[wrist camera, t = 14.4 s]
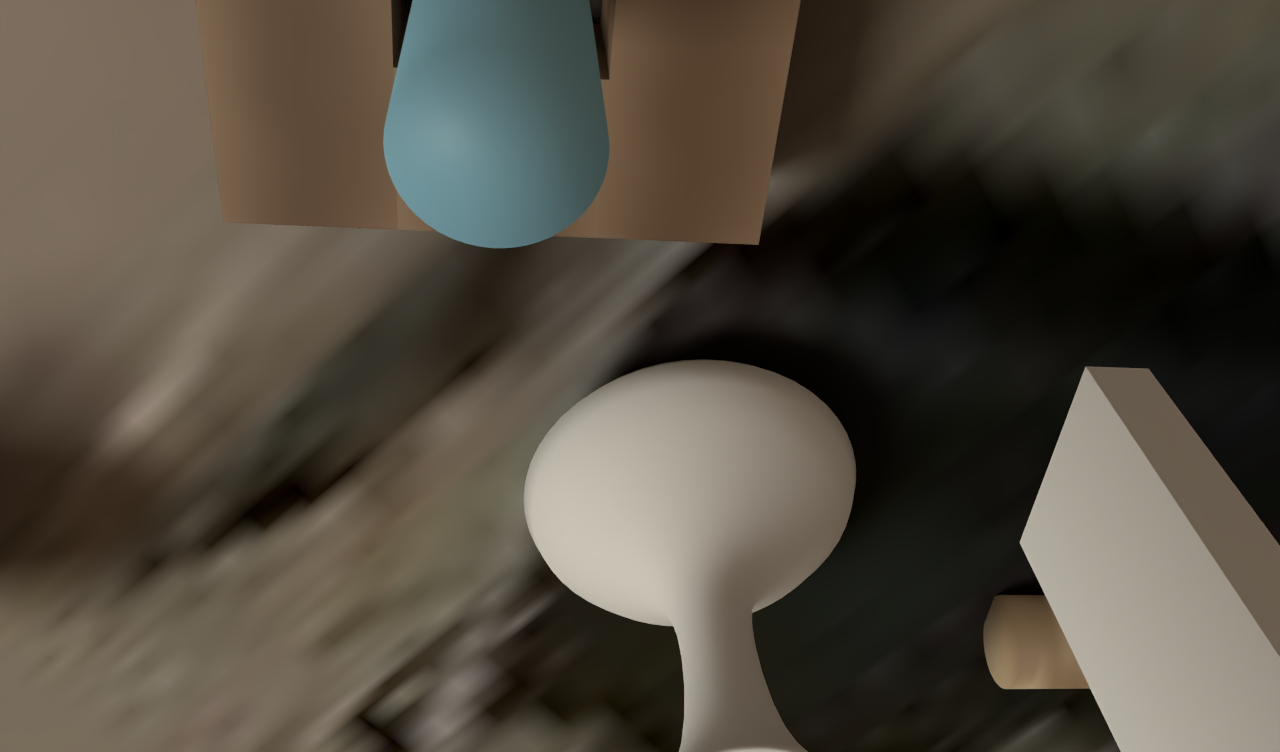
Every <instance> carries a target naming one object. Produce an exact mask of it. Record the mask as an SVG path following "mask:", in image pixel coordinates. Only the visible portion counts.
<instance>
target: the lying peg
mask: <svg viewBox="0 0 1280 752" xmlns="http://www.w3.org/2000/svg"><path fill="white" fill-rule="evenodd" d="M984 649H985V655H986V660H987V664H988V667H989V670H990V673H991V675H992V677H993V679H994V680H995V682H996V683H997V684H998V685H999V686H1000V687H1001V688H1004V689H1075V688H1090V687H1089V685H1088V683H1087V681H1086V678H1085V676H1084V674H1083V672H1082V670H1081V668H1080V666H1079V664H1078V662H1077V660H1076V658H1075V656H1074V654H1073V652H1072V650H1071V647H1070V645H1069V643H1068V641H1067V639H1066V637H1065V635H1064V633H1063V631H1062V629H1061V627H1060V625H1059V623H1058V621H1057V619H1056V616H1055V614H1054V612H1053V610H1052V608H1051V606H1050V604H1049V602H1048V600H1047V598H1046V596H1045V595H997V596H995V597H994V599H993V602H992V605H991V607H990V610H989V613H988V615H987V618H986V621H985V623H984Z"/></svg>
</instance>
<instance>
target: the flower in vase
mask: <svg viewBox="0 0 1280 752" xmlns="http://www.w3.org/2000/svg"><path fill="white" fill-rule="evenodd" d="M855 485H856V463H855V458H854V453H853V448H852V445H851V443H850V440H849V438H848V435H847V433H846V431H845V429H844V428H843V426H842V424H841V423H840V421H839V419H838V418H837V417H836V415H835V414H834V413H833V412H832V411H831V410H830V408H829V407H828V406H827V405H826V404H825V403H824V402H823V401H822V400H820V399H819V398H818V397H817V396H816V395H814V394H813V393H812V392H811V391H809V390H808V389H806V388H804V387H803V386H801V385H800V384H798V383H796V382H795V381H793V380H790V379H788V378H786V377H784V376H782V375H779V374H777V373H775V372H772V371H768V370H765V369H762V368H759V367H755V366H752V365H748V364H742V363H736V362H731V361H722V360H707V359H703V360H682V361H675V362H668V363H662V364H658V365H654V366H650V367H646V368H643V369H640V370H637V371H634V372H632V373H629V374H626V375H624V376H621V377H619V378H617V379H615V380H613V381H611V382H609V383H607V384H605V385H603V386H602V387H600V388H599V389H597V390H596V391H594V392H592V393H591V394H589V395H588V396H586V397H585V398H583V399H582V400H581V401H579V402H578V403H577V404H575V405H574V406H573V407H572V408H571V409H570V410H568V411H567V412H566V413H565V414H564V415H563V416H562V417H561V418H560V419H559V420H558V421H557V422H556V423H555V425H554V426H553V427H552V428H551V429H550V430H549V431H548V433H547V434H546V436H545V437H544V439H543V440H542V442H541V443H540V445H539V446H538V448H537V450H536V452H535V455H534V457H533V459H532V461H531V463H530V466H529V470H528V473H527V477H526V481H525V490H524V509H525V516H526V520H527V525H528V529H529V531H530V533H531V536H532V538H533V540H534V543H535V545H536V546H537V548H538V550H539V551H540V553H541V555H542V556H543V558H544V559H545V561H546V562H547V564H548V565H549V567H550V569H551V570H552V571H553V572H554V574H555V575H556V576H557V577H558V578H559V579H560V580H561V581H562V582H563V583H564V584H565V585H566V586H567V587H569V588H570V589H571V590H572V591H573V592H574V593H576V594H577V595H579V596H581V597H582V598H584V599H585V600H587V601H589V602H590V603H592V604H594V605H597V606H599V607H601V608H603V609H605V610H607V611H610V612H613V613H615V614H618V615H621V616H624V617H627V618H629V619H632V620H636V621H640V622H644V623H649V624H656V625H663V626H674V629H675V631H676V634H677V637H678V642H679V647H680V652H681V657H682V666H683V677H684V724H683V733H682V742H681V746H680V749H679V752H808V751H806V750H805V749H804V748H803V747H802V746H801V745H799V744H798V743H797V742H796V741H795V739H794V738H793V737H792V735H791V734H790V732H789V731H788V730H787V728H786V727H785V726H784V724H783V722H782V720H781V718H780V716H779V714H778V712H777V710H776V708H775V706H774V704H773V701H772V699H771V696H770V693H769V690H768V688H767V685H766V682H765V679H764V677H763V674H762V670H761V666H760V662H759V659H758V655H757V651H756V647H755V641H754V634H753V628H752V613H753V612H755V611H757V610H760V609H762V608H764V607H766V606H768V605H770V604H772V603H773V602H775V601H777V600H779V599H781V598H782V597H783V596H785V595H786V594H788V593H789V592H790V591H792V590H793V589H794V588H796V587H797V586H798V585H799V584H800V583H802V582H803V581H804V580H805V579H806V578H807V577H808V576H810V575H811V574H812V573H813V572H814V571H815V570H816V569H817V568H818V567H819V566H820V565H821V564H822V563H823V562H824V561H825V559H826V558H827V557H828V556H829V555H830V553H831V552H832V550H833V549H834V547H835V546H836V545H837V543H838V542H839V540H840V538H841V536H842V534H843V532H844V530H845V528H846V525H847V522H848V518H849V515H850V512H851V507H852V502H853V497H854V491H855Z"/></svg>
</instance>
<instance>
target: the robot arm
mask: <svg viewBox="0 0 1280 752" xmlns="http://www.w3.org/2000/svg"><path fill="white" fill-rule="evenodd" d="M1020 544H1021V546H1022V548H1023V550H1024V552H1025V554H1026V557H1027V559H1028V561H1029V563H1030V565H1031V567H1032V569H1033V571H1034V573H1035V575H1036V577H1037V579H1038V581H1039V583H1040V585H1041V588H1042V590H1043V592H1044V594H1045V596H1046V598H1047V600H1048V602H1049V604H1050V606H1051V608H1052V610H1053V612H1054V614H1055V616H1056V619H1057V621H1058V623H1059V625H1060V627H1061V629H1062V631H1063V633H1064V635H1065V637H1066V639H1067V641H1068V643H1069V645H1070V647H1071V650H1072V652H1073V654H1074V656H1075V658H1076V660H1077V662H1078V664H1079V666H1080V668H1081V670H1082V672H1083V674H1084V676H1085V678H1086V681H1087V683H1088V685H1089V687H1090V689H1091V691H1092V693H1093V695H1094V697H1095V699H1096V701H1097V703H1098V705H1099V707H1100V709H1101V712H1102V714H1103V716H1104V718H1105V720H1106V722H1107V724H1108V726H1109V728H1110V730H1111V732H1112V734H1113V736H1114V738H1115V740H1116V743H1117V745H1118V747H1119V749H1120V751H1121V752H1280V546H1279V544H1278V543H1277V541H1276V540H1275V539H1274V537H1273V536H1272V535H1271V533H1270V532H1269V531H1268V529H1267V528H1266V527H1265V525H1264V524H1263V523H1262V521H1261V520H1260V519H1259V517H1258V516H1257V515H1256V513H1255V512H1254V510H1253V509H1252V508H1251V506H1250V505H1249V504H1248V502H1247V501H1246V500H1245V498H1244V497H1243V496H1242V494H1241V493H1240V492H1239V490H1238V489H1237V488H1236V486H1235V485H1234V484H1233V482H1232V481H1231V479H1230V478H1229V477H1228V475H1227V474H1226V473H1225V471H1224V470H1223V469H1222V467H1221V466H1220V465H1219V463H1218V462H1217V461H1216V459H1215V458H1214V457H1213V455H1212V454H1211V452H1210V451H1209V450H1208V448H1207V447H1206V446H1205V444H1204V443H1203V442H1202V440H1201V439H1200V438H1199V436H1198V435H1197V434H1196V432H1195V431H1194V430H1193V428H1192V427H1191V426H1190V424H1189V423H1188V421H1187V420H1186V419H1185V417H1184V416H1183V415H1182V413H1181V412H1180V411H1179V409H1178V408H1177V407H1176V405H1175V404H1174V403H1173V401H1172V400H1171V399H1170V397H1169V396H1168V395H1167V393H1166V392H1165V390H1164V389H1163V388H1162V386H1161V385H1160V384H1159V382H1158V381H1157V380H1156V378H1155V377H1154V376H1153V374H1152V373H1151V372H1150V370H1149V369H1139V368H1112V367H1085V370H1084V372H1083V375H1082V378H1081V380H1080V383H1079V386H1078V388H1077V391H1076V394H1075V396H1074V399H1073V402H1072V404H1071V407H1070V410H1069V412H1068V415H1067V418H1066V420H1065V423H1064V426H1063V428H1062V431H1061V434H1060V436H1059V439H1058V442H1057V444H1056V447H1055V450H1054V452H1053V455H1052V458H1051V460H1050V463H1049V466H1048V468H1047V471H1046V474H1045V476H1044V479H1043V482H1042V484H1041V487H1040V490H1039V492H1038V495H1037V498H1036V500H1035V503H1034V506H1033V508H1032V511H1031V514H1030V516H1029V519H1028V522H1027V524H1026V527H1025V530H1024V532H1023V535H1022V538H1021V540H1020Z"/></svg>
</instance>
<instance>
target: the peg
mask: <svg viewBox="0 0 1280 752" xmlns="http://www.w3.org/2000/svg"><path fill="white" fill-rule="evenodd" d="M609 144H610V143H609V135H608V127H607V120H606V113H605V106H604V99H603V92H602V85H601V78H600V71H599V64H598V57H597V50H596V43H595V36H594V29H593V22H592V15H591V8H590V2H589V0H413V1H412V5H411V10H410V14H409V19H408V23H407V27H406V32H405V36H404V41H403V45H402V50H401V54H400V58H399V63H398V67H397V72H396V76H395V81H394V85H393V90H392V94H391V98H390V103H389V107H388V112H387V116H386V121H385V126H384V138H383V146H384V156H385V161H386V165H387V169H388V172H389V175H390V177H391V180H392V182H393V184H394V186H395V188H396V190H397V191H398V193H399V195H400V196H401V198H402V199H403V200H404V202H405V203H406V204H407V206H408V207H409V208H410V209H411V210H412V211H413V212H414V213H415V214H416V215H417V216H418V217H419V218H420V219H421V220H423V221H424V222H425V223H426V224H427V225H429V226H430V227H432V228H434V229H435V230H437V231H438V232H440V233H442V234H444V235H446V236H448V237H450V238H452V239H455V240H458V241H461V242H463V243H466V244H471V245H475V246H480V247H489V248H512V247H520V246H525V245H529V244H533V243H537V242H539V241H542V240H545V239H547V238H550V237H551V236H553V235H555V234H557V233H559V232H561V231H562V230H564V229H565V228H567V227H568V226H570V225H571V224H572V223H573V222H575V221H576V220H577V219H578V218H579V217H580V216H581V215H582V214H583V213H584V212H585V211H586V210H587V208H588V207H589V206H590V205H591V203H592V202H593V200H594V199H595V197H596V196H597V194H598V192H599V190H600V188H601V186H602V184H603V181H604V178H605V175H606V171H607V167H608V161H609Z"/></svg>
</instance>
